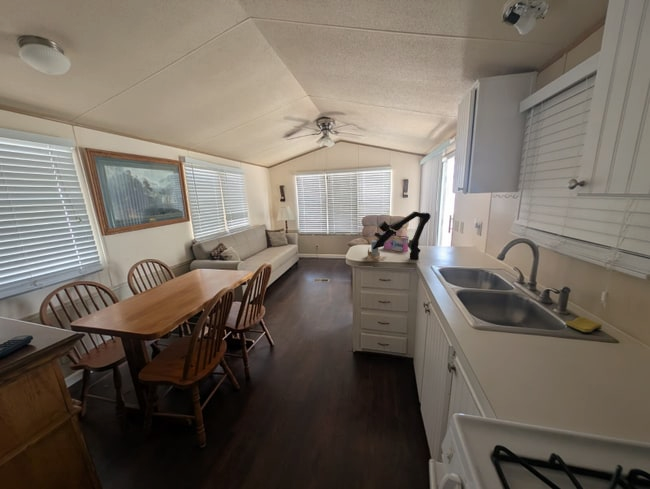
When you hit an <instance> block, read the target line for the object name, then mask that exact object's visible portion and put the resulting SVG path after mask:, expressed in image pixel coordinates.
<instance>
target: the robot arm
mask: <svg viewBox="0 0 650 489" xmlns="http://www.w3.org/2000/svg"><path fill="white" fill-rule="evenodd" d="M416 217H417V218H419V222H418V225H417V228H416V230H415V232H414V235H413V237H412V239H408V249H409V250H410V253H409V260H414V261H415V260H417V261H418V260H419V256H420V252H421V249H420V248H419V245H420V244H419V240H420V237H421V235H422V233H423V230H424V229H425V225H426V224H427V223H428V222H429V220H430V219H431V214H430V213H429V212H425V211H424V212H418V211H413V212H411V213H410V214H408V215H406V216H405V217H403V218H402V219H400V220H397V221H395V222H393V223H392V224H388V223H387V222H386V221H383V222H381V223H380V224H379V225H378V229H379V230H381V231H382V232H383V233H380V232H379V231H375V232H374V235H373V236H374V237H376V240H375V241H376V245H375V246H374V247H373V249H376V248H378V249H379V248H384V243H385V242H386V241H387V240H388V239H389V238H390V237H391V236H392V235H395V236H396V235H397V231H400V230H401V229H402V228H403V226H404V225H405V224H407V223H409V222H410V221H412V220H414V219H416Z"/></svg>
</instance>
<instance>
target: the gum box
mask: <svg viewBox="0 0 650 489" xmlns="http://www.w3.org/2000/svg"><path fill="white" fill-rule="evenodd" d="M409 238H410V237H409V236H406V235H399V234H398V235H397V234H396V236H395V235H394V234H393V235H392V236H391V237H390V238H389V239H388V240H387V241H386V242H385V243H384V246H383V249H384V250H385V249H386V250H392V251H395V252H402V253H405V252H408V250H409V247H408V243H409Z"/></svg>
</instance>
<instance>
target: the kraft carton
mask: <svg viewBox="0 0 650 489" xmlns="http://www.w3.org/2000/svg"><path fill="white" fill-rule="evenodd" d="M380 253H381V251H378V256H371V251H370V247H368V249H367V261H371V262H372V261H373V262H388V257H387V256H380V255H381V254H380Z"/></svg>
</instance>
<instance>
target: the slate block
mask: <svg viewBox="0 0 650 489" xmlns="http://www.w3.org/2000/svg"><path fill="white" fill-rule="evenodd" d="M376 241H377V240H371V245H370V246H371V247H370V248H371V251H370V252H371V256H378V252H379V248H376V249H373V247H374V246H375V245H376Z"/></svg>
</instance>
